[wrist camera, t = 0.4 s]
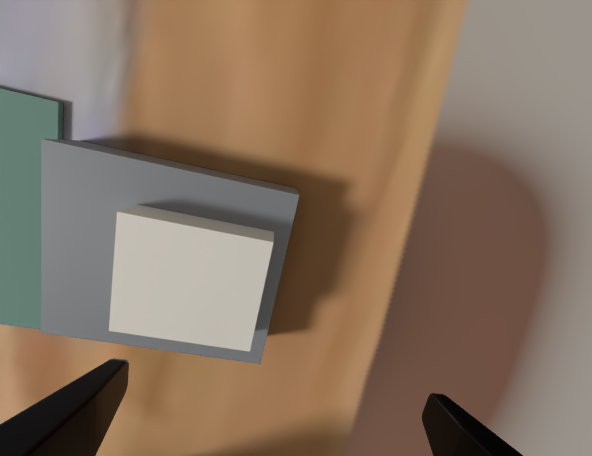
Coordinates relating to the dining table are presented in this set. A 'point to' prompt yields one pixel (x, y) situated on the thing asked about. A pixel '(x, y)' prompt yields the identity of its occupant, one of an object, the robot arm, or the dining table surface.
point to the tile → (187, 277)
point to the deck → (102, 227)
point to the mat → (22, 202)
